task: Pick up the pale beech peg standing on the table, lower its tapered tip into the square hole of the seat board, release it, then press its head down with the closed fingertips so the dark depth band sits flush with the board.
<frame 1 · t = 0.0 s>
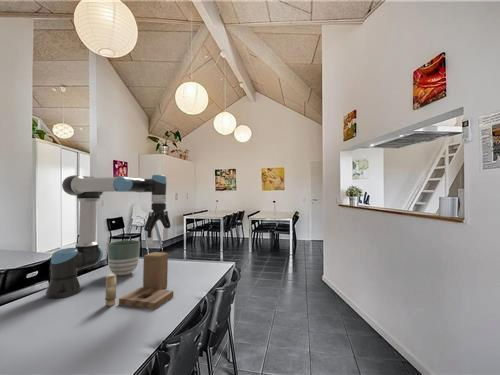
hand: (158, 241, 138), 28 cm above the table, fingers open, 13 cm apart
peg: (110, 304, 123), on the table
wooden block: (155, 289, 144), on the table
planter: (123, 274, 171), on the table
seat board: (147, 300, 128), on the table
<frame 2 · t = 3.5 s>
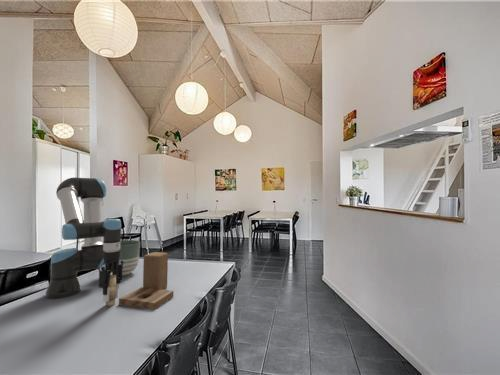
hand: (110, 298, 123), 3 cm above the table, fingers closed on peg, 4 cm apart
peg: (110, 304, 123), on the table, touching gripper
everything else where it was.
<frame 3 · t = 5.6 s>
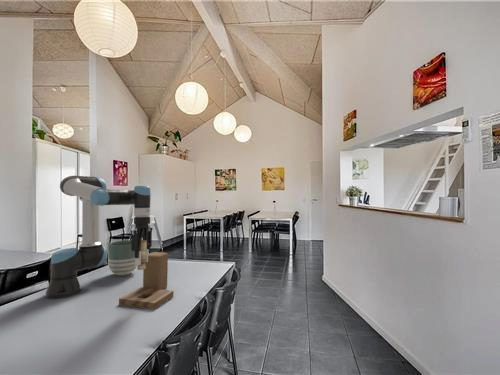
hand: (141, 263, 126), 19 cm above the table, fingers closed on peg, 4 cm apart
peg: (141, 268, 126), point 17 cm above the table, touching gripper
everything else where it was.
when the fingers open (5 cm above the table, at t = 7.9 s): peg drops 2 cm, resting in seat board.
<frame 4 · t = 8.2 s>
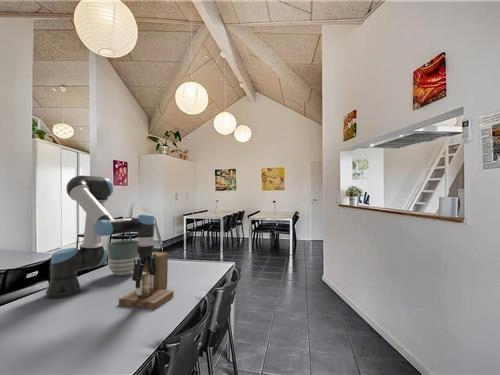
hand: (144, 290, 126), 5 cm above the table, fingers open, 8 cm apart
peg: (144, 302, 126), resting in seat board
everything else where it was.
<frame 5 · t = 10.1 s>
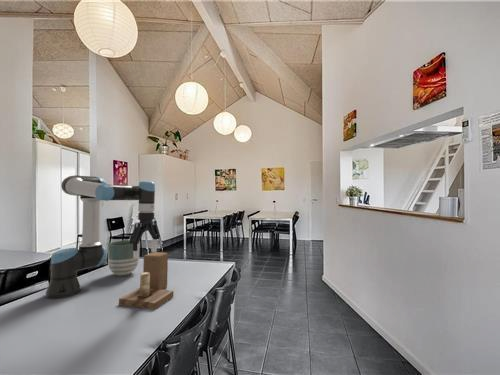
hand: (145, 254, 127), 23 cm above the table, fingers open, 13 cm apart
nothing on the table moved.
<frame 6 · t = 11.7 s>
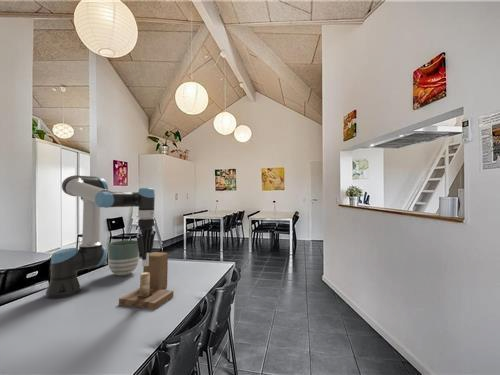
hand: (145, 265, 127), 18 cm above the table, fingers closed
nothing on the table moved.
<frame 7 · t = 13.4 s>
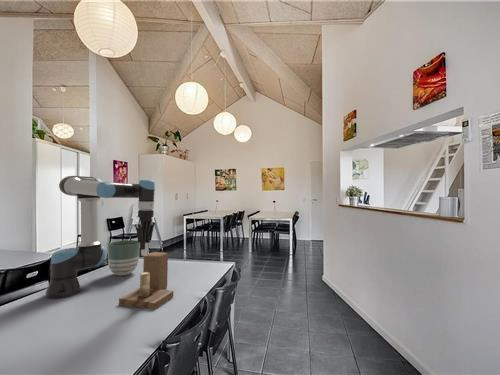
hand: (144, 255, 131), 22 cm above the table, fingers closed
nothing on the table moved.
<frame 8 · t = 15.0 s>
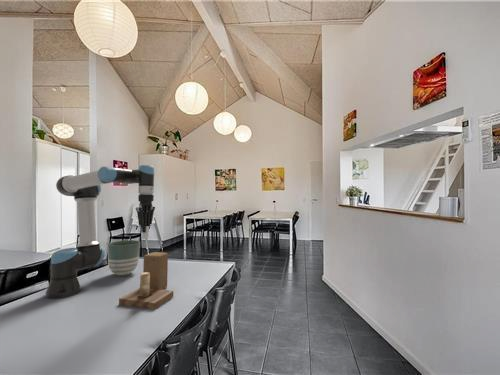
hand: (145, 238, 134), 30 cm above the table, fingers closed
nothing on the table moved.
at the end: peg 0.1 cm from the target spot on the seat board, point 0.0 cm above the seat board's base; peg tilted 0°; the gripper is holding nothing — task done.
